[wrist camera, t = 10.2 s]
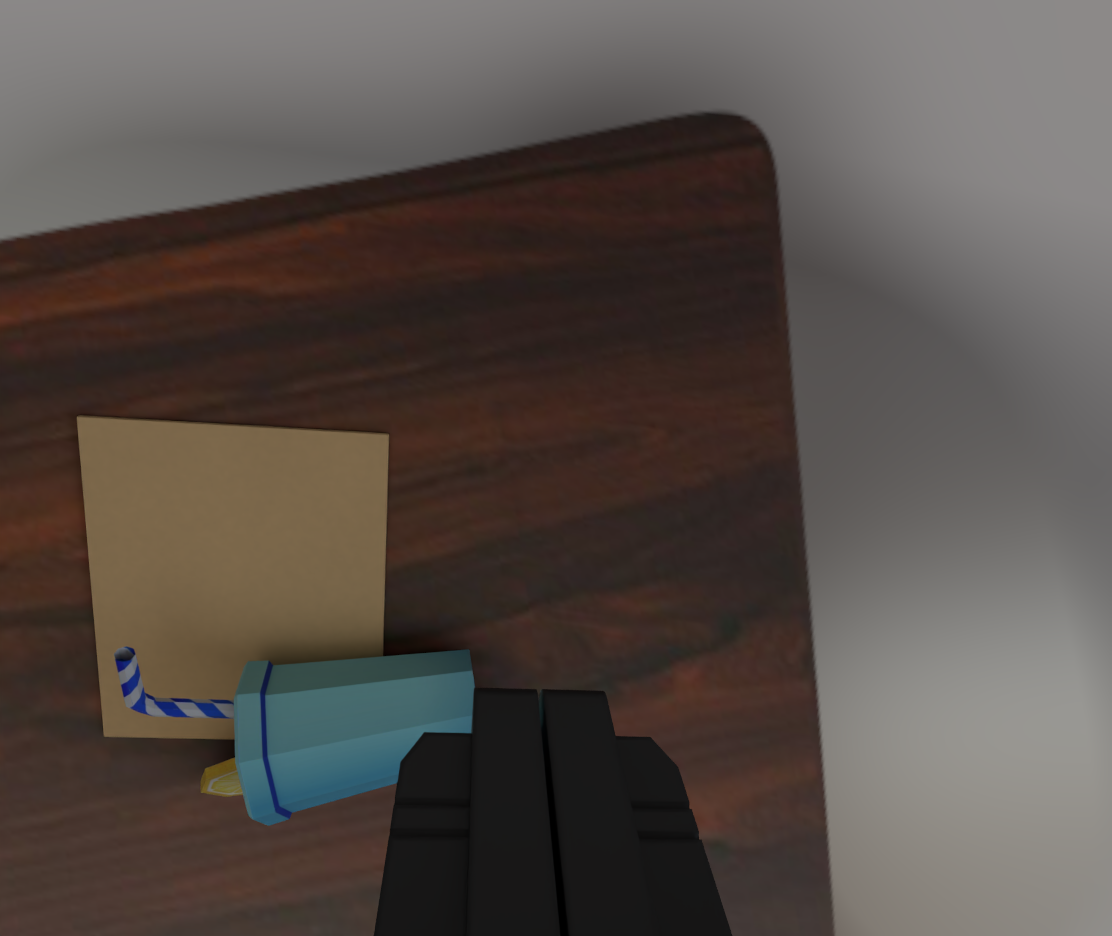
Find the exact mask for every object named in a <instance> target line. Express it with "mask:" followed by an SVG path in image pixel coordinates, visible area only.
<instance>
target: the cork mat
mask: <svg viewBox="0 0 1112 936" xmlns="http://www.w3.org/2000/svg"><path fill="white" fill-rule="evenodd" d="M77 426H78V438H79V449H80V461H81V473H82V485H83V496H84V508H85V520H86V531H87V543H88V555H89V566H90V578H91V590H92V602H93V613H94V625H95V637H96V648H97V660H98V672H99V683H100V695H101V707H102V719H103V730H104V737H143V738H189V739H234V740H235V732H234V719H228V718H189V717H153V716H150V715H146V714H142V713H139V712H137V711H135V710H132V709H130V708H128V707H126V704H125V701H124V697H123V692H122V688H121V684H120V679H119V675H118V670H117V666H116V662H115V657H114V653H115V652H116V651H117V650H118V649H119V648H122V647H126V646H127V647H130V648H133V649H134V651H135V654H136V657H137V662H138V666H139V670H140V674H141V679H142V683H143V687H144V691H145V693H147V694H149V695H151V696H154V697H156V698H185V699H216V700H234V696H235V693H236V690H237V687H238V684H239V681H240V678H241V675H242V671H243V668H244V666H245V665H246V663H247V662H248V661H268V660H269V661H270V662H271V663H272V664H273V665H285V664H297V663H309V662H322V661H334V660H346V659H358V658H370V657H383V641H384V604H385V568H386V531H387V494H388V457H389V433H375V432H358V431H341V430H324V429H307V428H290V427H273V426H255V425H238V424H221V423H204V422H187V421H170V420H153V419H136V418H118V417H101V416H84V415H79V416H77Z"/></svg>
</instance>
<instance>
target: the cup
mask: <svg viewBox="0 0 1112 936" xmlns="http://www.w3.org/2000/svg"><path fill="white" fill-rule="evenodd" d="M114 657H115V662H116V666H117V670H118V675H119V679H120V684H121V688H122V692H123V697H124V701H125V704H126V707H128V708H130V709H132V710H135V711H137V712H139V713H142V714H146V715H150V716H153V717H189V718H228V719H234V732H235V758H232V759H229V760H227V761H224V762H221V763H219V764H216V765H213V766H211V767H208V768H205V771H204V774H203V776H202V779H201V793H207V794H213V795H219V796H225V797H228V796H236V795H243V796H244V800H245V804H246V808H247V812H248V816H250V817H251V818H252V819H253V820H256V821H258V822H261V823H263V824H266V825H268V826H269V825H272V824H275V823H278V822H281V821H284V820H288V819H290V816H291V813H292V812H296V811H299V810H303V809H306V808H310V807H314V806H317V805H321V804H324V803H328V802H331V801H335V800H338V799H342V798H345V797H349V796H353V795H356V794H360V793H363V792H367V791H370V790H374V789H377V788H381V787H384V786H388V785H392V784H395V783H397V782H398V775H399V768H400V762H401V761H402V759H403V758H404V757H405V756H406V754H407V753H408V752H409V751H410V749H411V748H412V747H413V746H414V744H415V743H416V742H417V741H418V739H419V738H420V737H421V736H422V734H423V733H424V732H442V733H471V726H472V708H473V692H474V688H475V684H474V677H473V670H472V664H471V658H470V652H469V649H468V650H456V651H444V652H432V653H419V654H407V655H395V656H383V657H370V658H358V659H346V660H334V661H322V662H309V663H297V664H285V665H273V664H272V663H271V662H270V661H269V660H268V661H248V662H247V663H246V665H245V666H244V668H243V671H242V675H241V678H240V681H239V684H238V687H237V690H236V693H235V696H234V700H216V699H185V698H156V697H154V696H151V695H149V694H147V693H145V691H144V687H143V683H142V679H141V674H140V670H139V666H138V662H137V657H136V654H135V651H134V649H133V648H130V647H127V646H126V647H122V648H119V649H118V650H117V651H116V652H115V653H114Z"/></svg>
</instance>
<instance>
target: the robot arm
mask: <svg viewBox="0 0 1112 936" xmlns="http://www.w3.org/2000/svg"><path fill="white" fill-rule="evenodd" d="M374 936H732V934H731V930H730V927H729V924H728V921H727V918H726V915H725V912H724V909H723V906H722V902H721V899H720V896H719V893H718V890H717V887H716V884H715V881H714V878H713V874H712V871H711V868H710V865H709V862H708V859H707V856H706V853H705V850H704V846H703V843H702V840H699V831H698V828H697V825H696V822H695V818H694V815H693V812H692V809H689V800H688V797H687V794H686V790H685V787H684V784H683V781H682V778H681V775H680V772H679V769H678V767H677V765H676V764H675V763H674V762H673V761H672V760H671V759H670V758H669V757H668V756H667V755H666V754H665V752H664V751H663V750H662V749H661V748H660V747H659V746H658V745H657V744H656V743H655V742H654V741H653V739H652V738H651V737H625V736H615V732H614V727H613V723H612V718H611V714H610V710H609V705H608V701H607V697H606V694H605V692H604V691H585V690H550V689H542V690H541V692H540V697H539V702H538V693H537V690H536V689H506V688H474V692H473V708H472V726H471V733H442V732H424V733H423V734H422V736H421V737H420V738H419V739H418V741H417V742H416V743H415V744H414V746H413V747H412V748H411V749H410V751H409V752H408V753H407V754H406V756H405V757H404V758H403V759H402V761H401V762H400V768H399V775H398V782H397V788H396V795H395V805H394V808H393V814H392V821H391V827H390V836H389V840H388V847H387V853H386V860H385V866H384V873H383V879H382V886H381V893H380V899H379V906H378V912H377V919H376V925H375V932H374Z"/></svg>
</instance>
